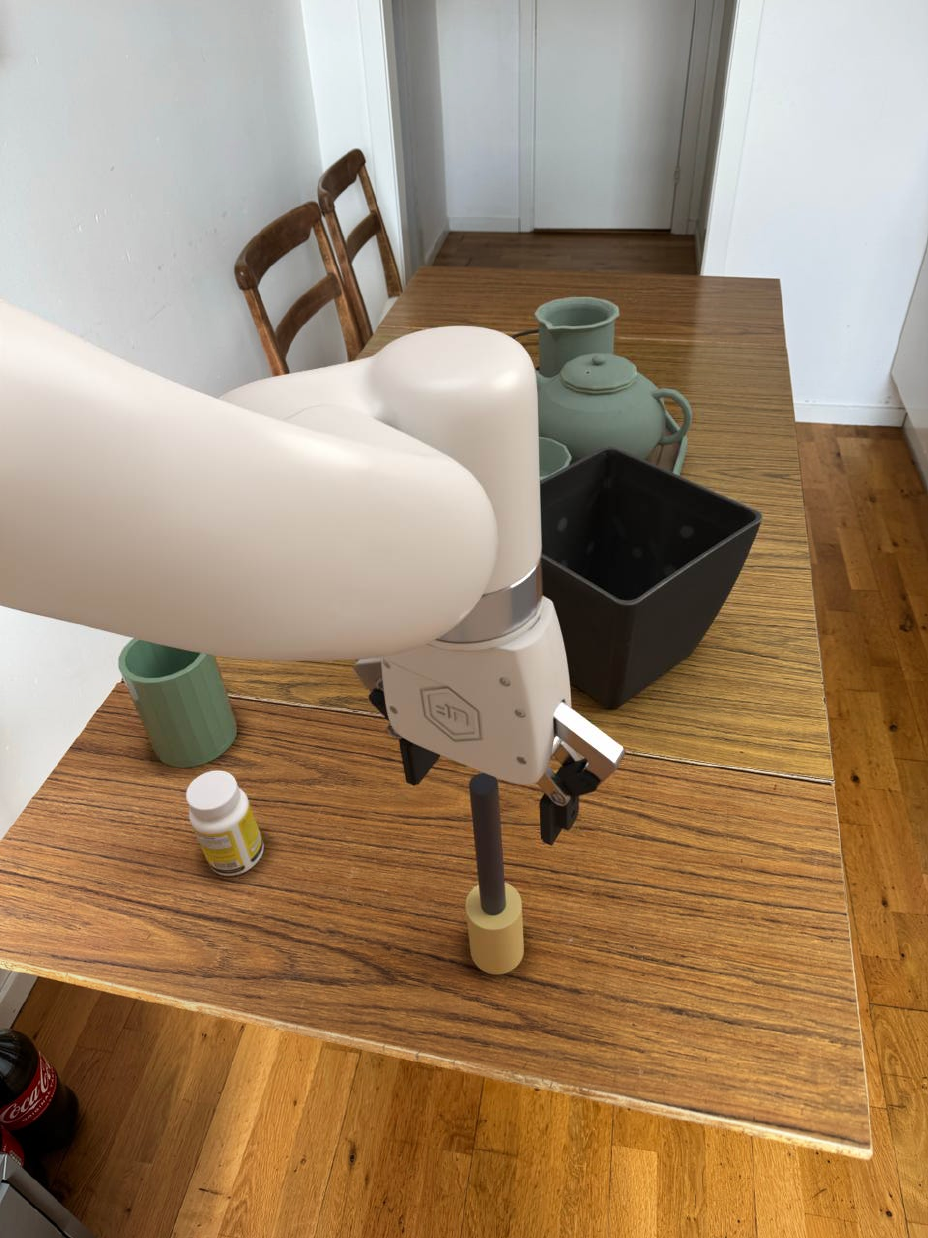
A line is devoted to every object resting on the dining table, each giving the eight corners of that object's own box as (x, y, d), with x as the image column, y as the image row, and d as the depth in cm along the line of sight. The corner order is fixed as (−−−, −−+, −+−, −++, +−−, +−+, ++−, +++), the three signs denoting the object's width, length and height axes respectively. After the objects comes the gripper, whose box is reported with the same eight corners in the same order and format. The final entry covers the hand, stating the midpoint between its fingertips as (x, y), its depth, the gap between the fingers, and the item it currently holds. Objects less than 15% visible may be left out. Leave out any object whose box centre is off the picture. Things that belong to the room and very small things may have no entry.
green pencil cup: (227, 766, 83) (196, 680, 76) (143, 769, 83) (105, 684, 76) (245, 705, 89) (218, 621, 82) (167, 708, 90) (134, 624, 83)
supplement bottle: (247, 821, 78) (224, 756, 72) (274, 855, 75) (253, 789, 70) (197, 852, 76) (170, 788, 70) (223, 888, 73) (197, 823, 67)
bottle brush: (524, 974, 65) (516, 809, 53) (470, 975, 65) (450, 810, 53) (522, 925, 68) (515, 758, 56) (470, 926, 68) (452, 760, 56)
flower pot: (744, 651, 90) (768, 510, 80) (620, 749, 81) (629, 605, 71) (603, 574, 102) (608, 442, 91) (481, 653, 93) (470, 516, 82)
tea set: (393, 411, 138) (380, 305, 127) (652, 390, 137) (660, 282, 127) (387, 560, 107) (368, 436, 96) (720, 534, 106) (737, 407, 96)
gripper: (289, 577, 46) (343, 789, 57) (593, 680, 39) (589, 901, 50) (373, 506, 51) (408, 713, 62) (658, 585, 44) (641, 806, 55)
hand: (488, 797), depth 56 cm, fingers open, 9 cm apart
